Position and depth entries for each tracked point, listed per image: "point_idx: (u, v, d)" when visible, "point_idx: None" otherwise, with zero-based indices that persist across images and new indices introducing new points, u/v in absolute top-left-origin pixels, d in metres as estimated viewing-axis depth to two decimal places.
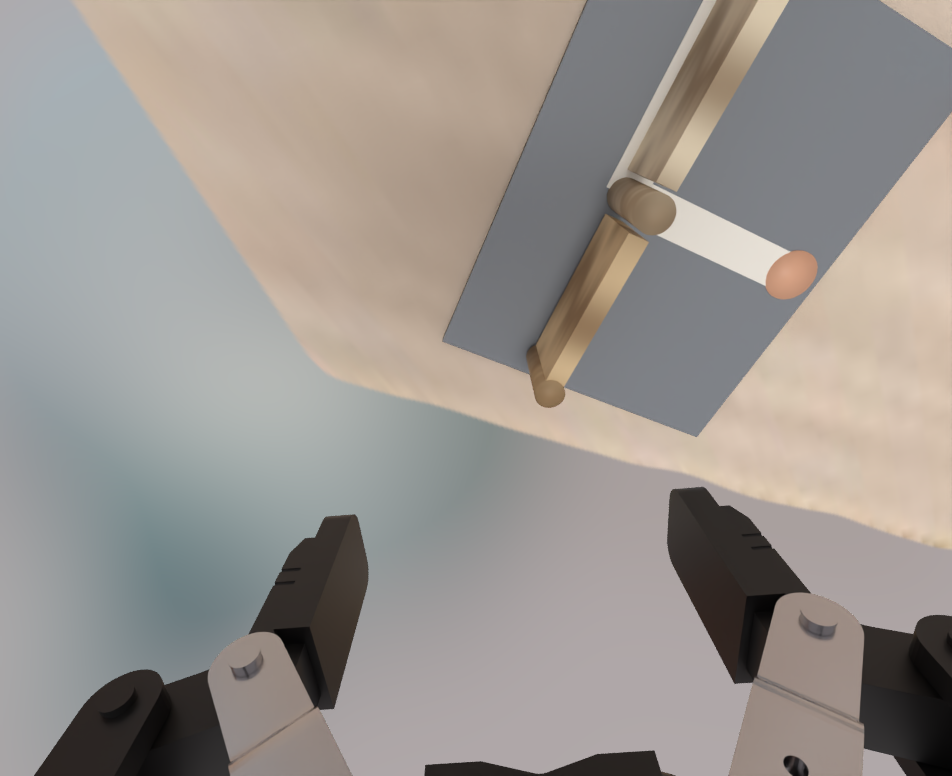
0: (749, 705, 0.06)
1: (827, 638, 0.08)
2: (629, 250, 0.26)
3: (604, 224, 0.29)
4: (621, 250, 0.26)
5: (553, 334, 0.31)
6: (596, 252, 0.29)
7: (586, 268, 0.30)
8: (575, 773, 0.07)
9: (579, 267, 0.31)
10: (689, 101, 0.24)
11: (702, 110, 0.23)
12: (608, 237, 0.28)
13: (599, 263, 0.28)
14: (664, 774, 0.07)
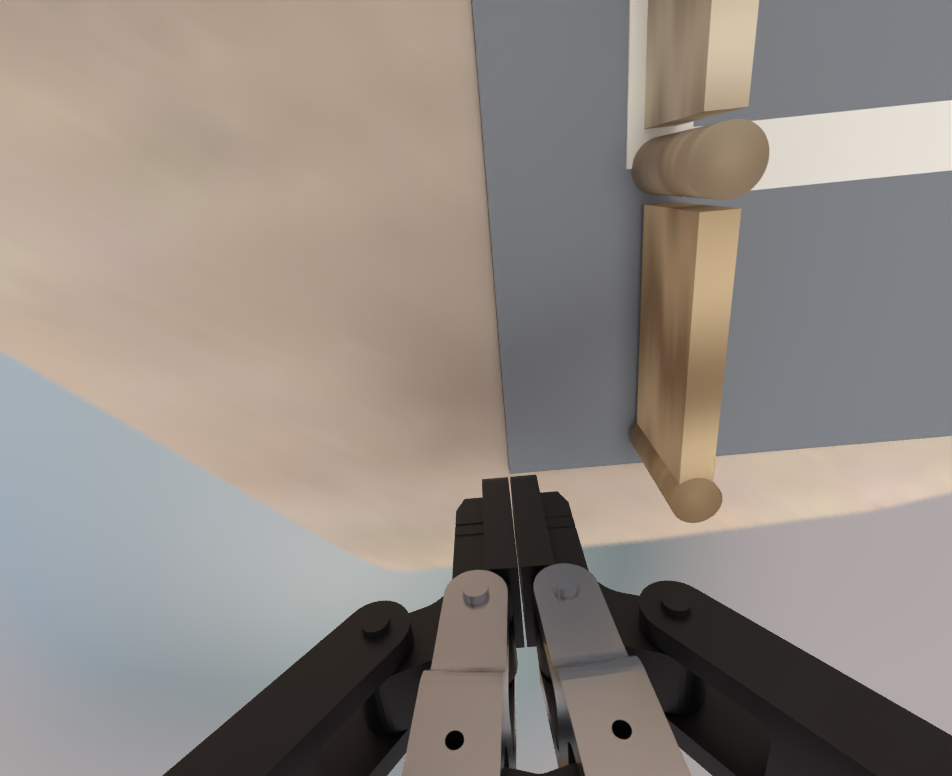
0: (568, 698, 0.07)
1: (565, 600, 0.09)
2: (714, 237, 0.15)
3: (650, 220, 0.18)
4: (700, 245, 0.15)
5: (654, 405, 0.20)
6: (659, 263, 0.18)
7: (656, 293, 0.19)
8: (575, 774, 0.07)
9: (644, 294, 0.20)
10: None
11: None
12: (667, 235, 0.17)
13: (673, 278, 0.17)
14: None
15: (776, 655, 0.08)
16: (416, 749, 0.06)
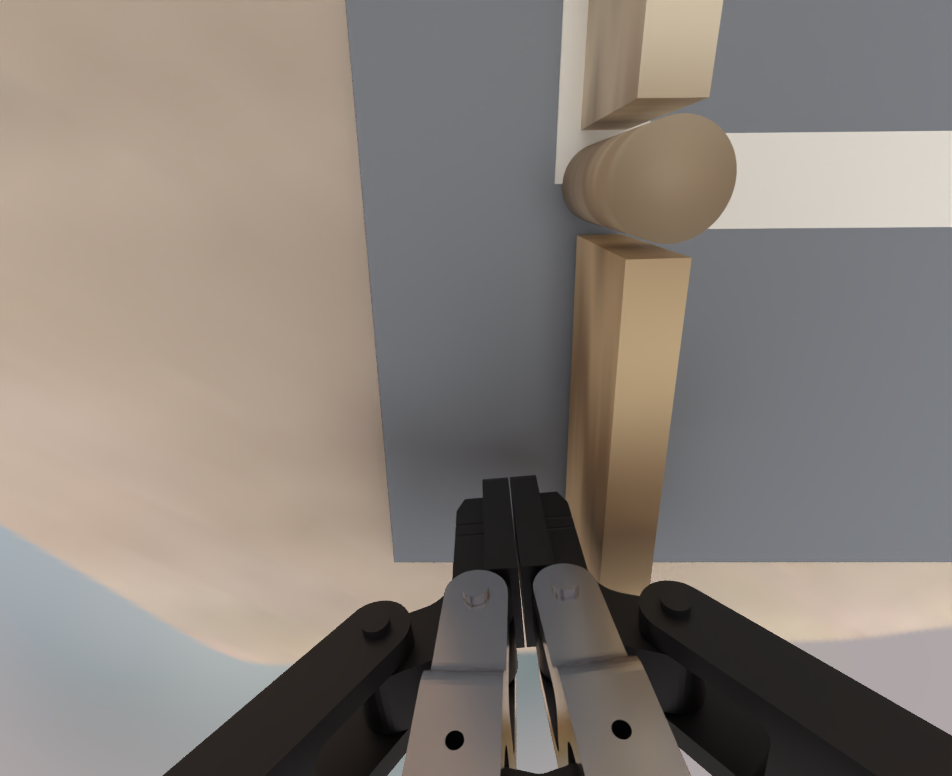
0: (567, 698, 0.07)
1: (564, 600, 0.09)
2: (648, 300, 0.09)
3: (581, 258, 0.13)
4: (626, 310, 0.09)
5: (578, 507, 0.15)
6: (587, 321, 0.13)
7: (583, 360, 0.13)
8: (575, 773, 0.07)
9: (574, 355, 0.15)
10: None
11: None
12: (594, 283, 0.12)
13: (598, 348, 0.12)
14: None
15: (776, 656, 0.08)
16: (416, 749, 0.06)
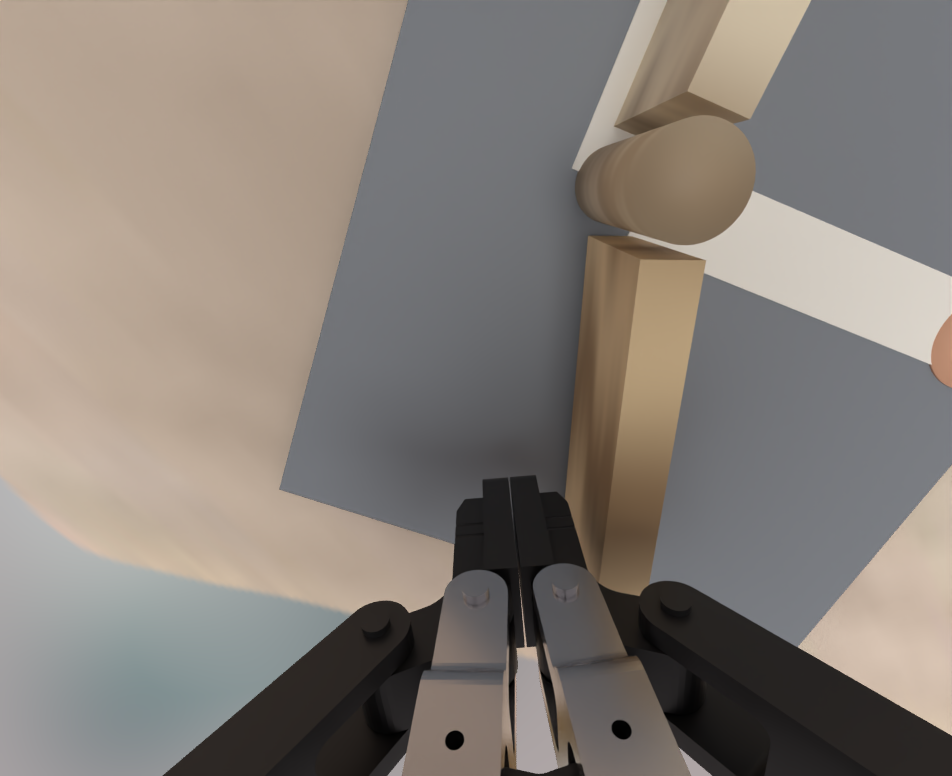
0: (568, 698, 0.07)
1: (564, 600, 0.09)
2: (661, 300, 0.09)
3: (592, 258, 0.13)
4: (639, 310, 0.10)
5: (578, 507, 0.15)
6: (596, 321, 0.13)
7: (590, 360, 0.13)
8: (575, 774, 0.07)
9: (580, 356, 0.15)
10: None
11: None
12: (605, 284, 0.12)
13: (606, 348, 0.12)
14: None
15: (776, 656, 0.08)
16: (416, 749, 0.06)
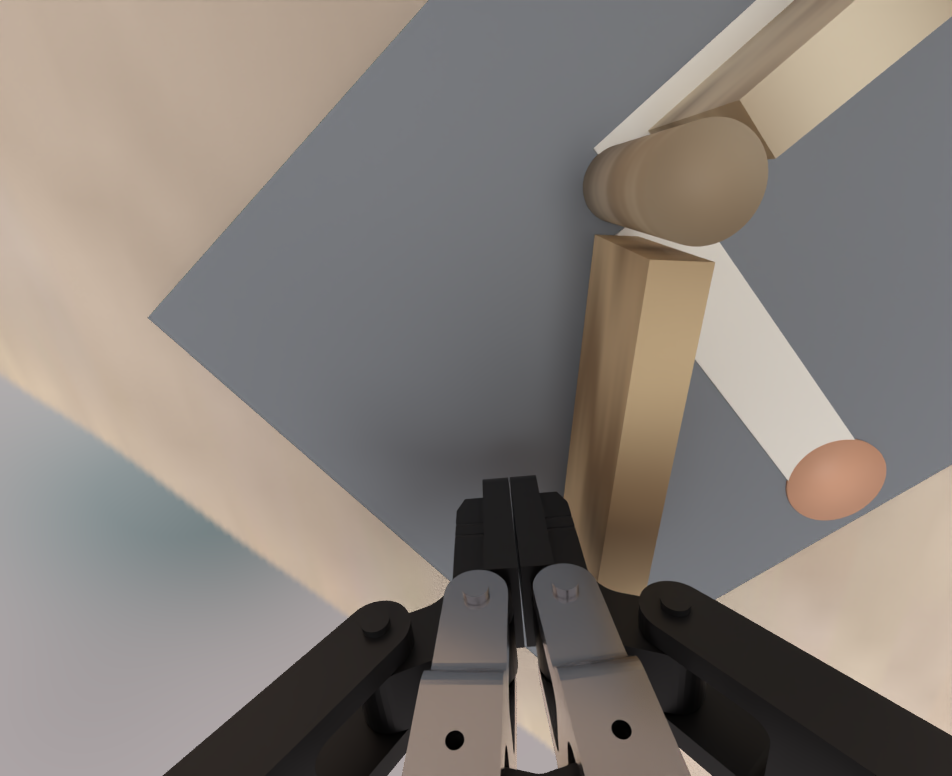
0: (567, 698, 0.07)
1: (564, 600, 0.09)
2: (669, 301, 0.09)
3: (598, 258, 0.13)
4: (647, 310, 0.10)
5: (578, 506, 0.15)
6: (601, 320, 0.13)
7: (594, 360, 0.13)
8: (574, 773, 0.07)
9: (583, 355, 0.15)
10: None
11: None
12: (612, 283, 0.12)
13: (611, 347, 0.12)
14: None
15: (776, 655, 0.08)
16: (416, 749, 0.06)
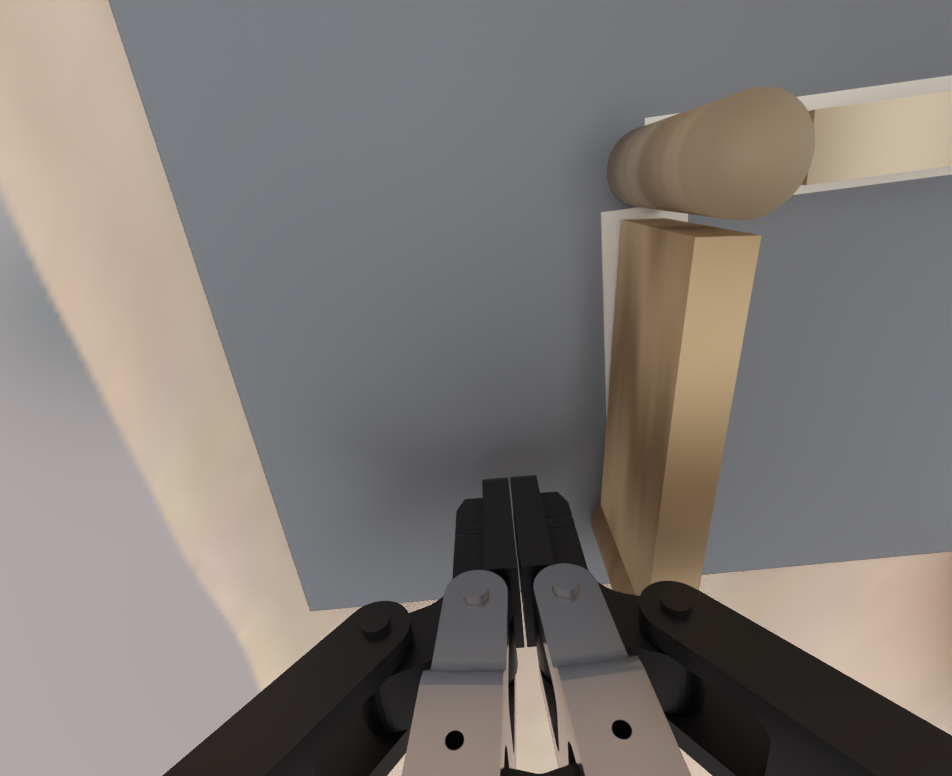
0: (568, 698, 0.07)
1: (565, 600, 0.09)
2: (716, 278, 0.09)
3: (628, 242, 0.13)
4: (693, 289, 0.09)
5: (621, 493, 0.15)
6: (636, 304, 0.13)
7: (630, 345, 0.13)
8: (574, 773, 0.07)
9: (616, 341, 0.15)
10: None
11: None
12: (648, 266, 0.12)
13: (652, 330, 0.12)
14: None
15: (776, 656, 0.08)
16: (416, 749, 0.06)
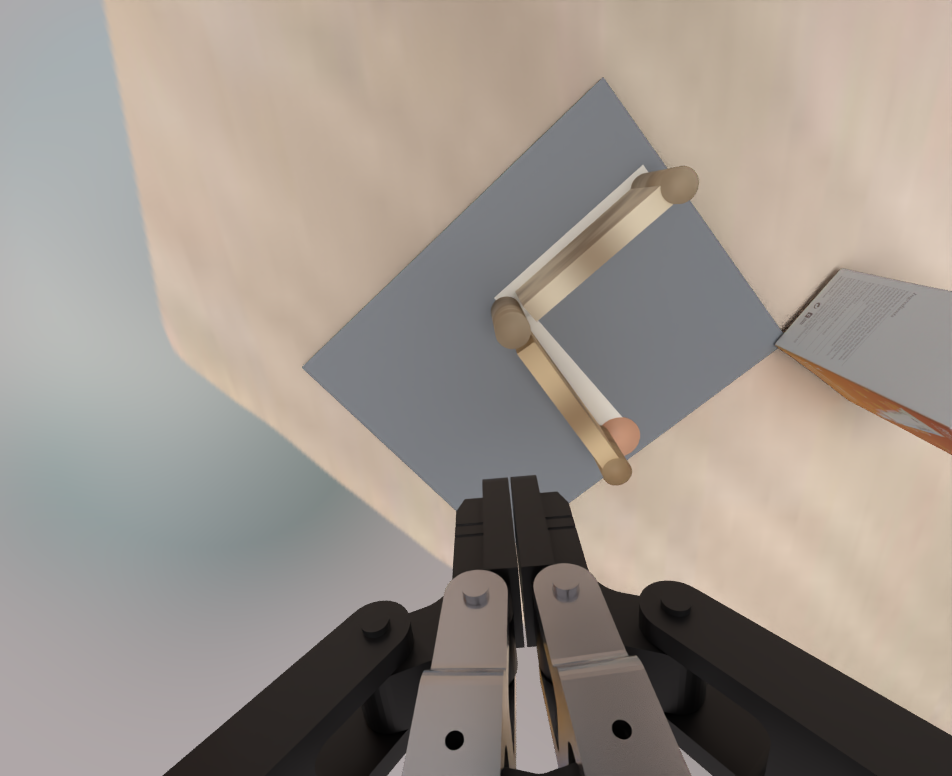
0: (568, 698, 0.07)
1: (565, 600, 0.09)
2: (531, 359, 0.29)
3: None
4: (527, 365, 0.29)
5: None
6: None
7: None
8: (575, 774, 0.07)
9: None
10: (570, 258, 0.28)
11: (574, 267, 0.27)
12: None
13: None
14: None
15: (777, 657, 0.08)
16: (416, 749, 0.06)
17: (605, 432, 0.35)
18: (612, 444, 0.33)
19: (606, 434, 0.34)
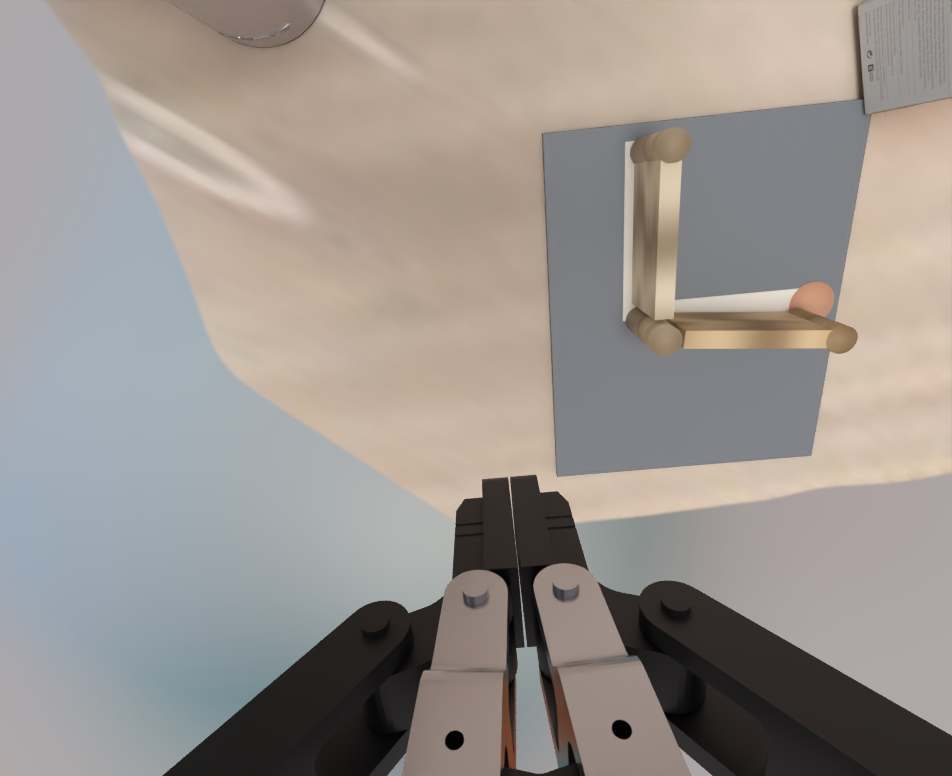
0: (568, 698, 0.07)
1: (565, 600, 0.09)
2: (696, 341, 0.32)
3: None
4: (698, 347, 0.32)
5: None
6: None
7: None
8: (574, 774, 0.07)
9: None
10: (649, 258, 0.32)
11: (661, 265, 0.30)
12: None
13: None
14: None
15: (776, 655, 0.08)
16: (416, 748, 0.06)
17: (798, 314, 0.35)
18: (814, 321, 0.34)
19: (801, 315, 0.35)
